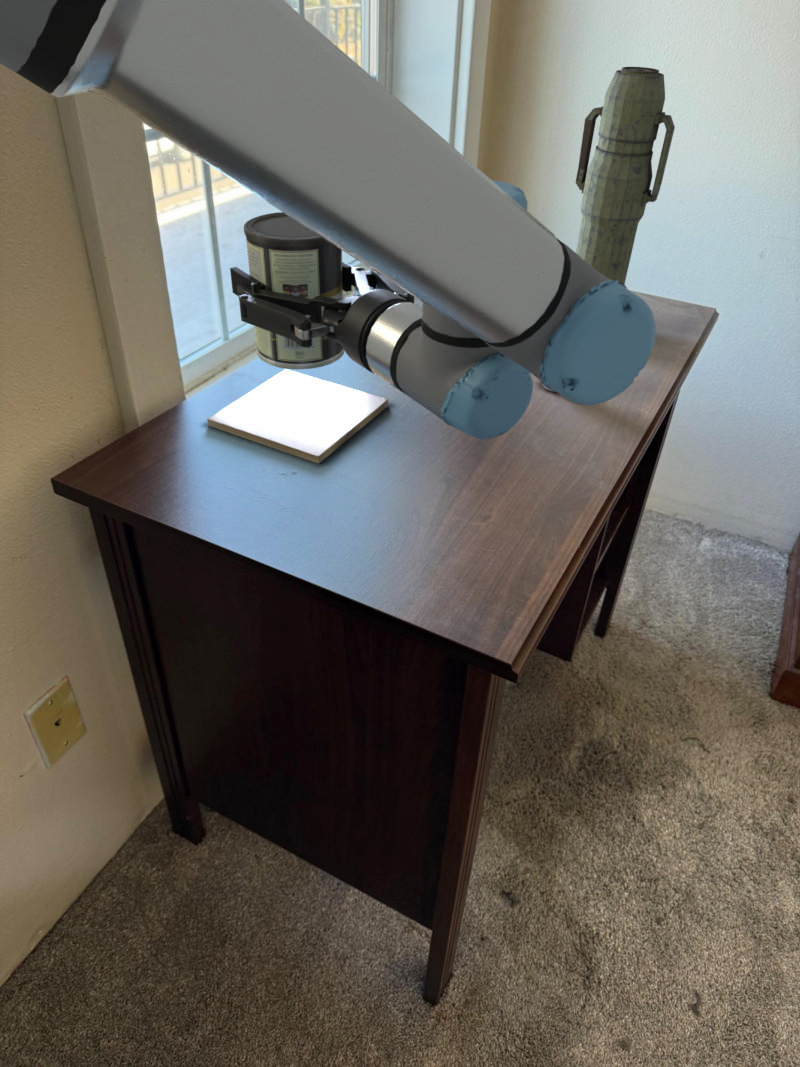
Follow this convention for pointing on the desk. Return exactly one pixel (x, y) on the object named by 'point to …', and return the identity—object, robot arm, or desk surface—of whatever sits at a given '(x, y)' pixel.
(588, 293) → the robot arm
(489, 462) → the desk surface
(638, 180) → the thermos
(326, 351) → the coffee can
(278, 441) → the cork mat
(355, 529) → the desk surface
